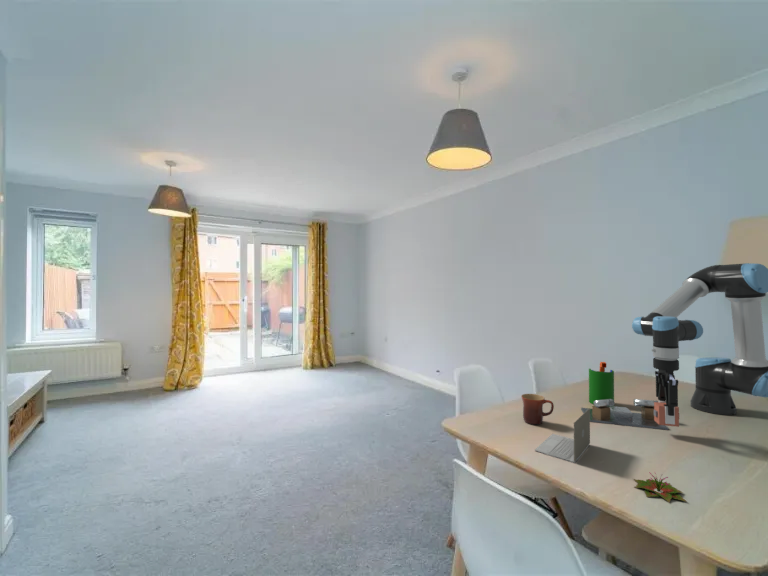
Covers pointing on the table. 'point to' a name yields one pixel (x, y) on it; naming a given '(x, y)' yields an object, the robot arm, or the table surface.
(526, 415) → the mug
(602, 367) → the motor
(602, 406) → the shaft
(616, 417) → the base plate
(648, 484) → the lily flower
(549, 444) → the laptop
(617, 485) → the table surface
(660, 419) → the block
